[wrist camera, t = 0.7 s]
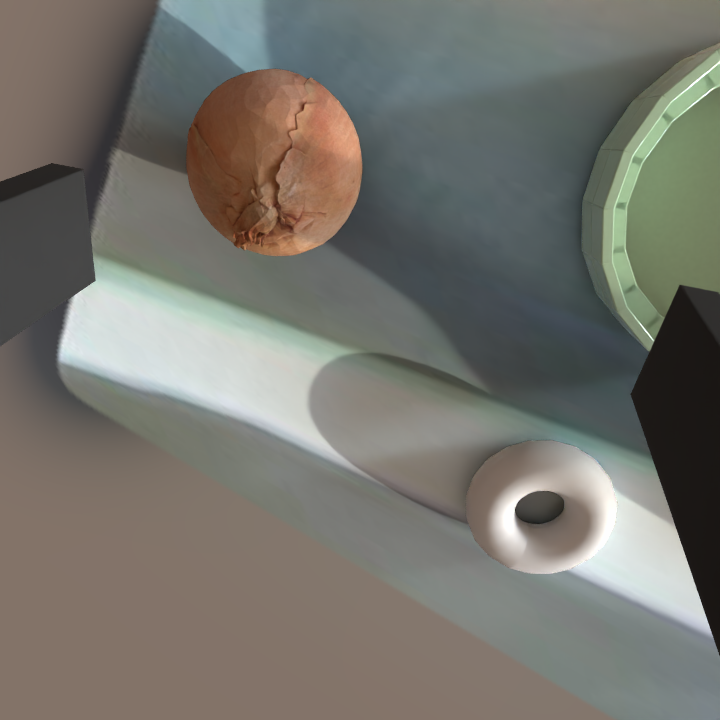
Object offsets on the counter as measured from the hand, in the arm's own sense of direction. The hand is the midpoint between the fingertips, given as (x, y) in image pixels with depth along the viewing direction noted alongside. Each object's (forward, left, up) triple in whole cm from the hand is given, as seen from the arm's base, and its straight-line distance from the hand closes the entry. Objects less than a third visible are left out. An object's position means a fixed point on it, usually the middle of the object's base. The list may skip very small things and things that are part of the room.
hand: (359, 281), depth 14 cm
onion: (-4, -5, -25) cm, 26 cm away
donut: (+23, +1, -25) cm, 34 cm away
